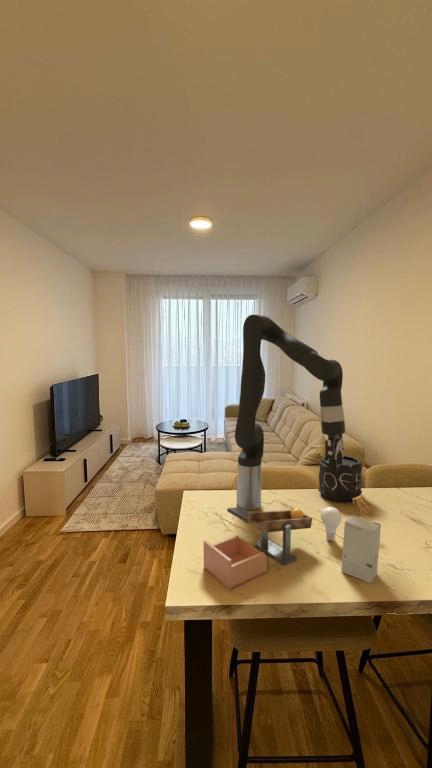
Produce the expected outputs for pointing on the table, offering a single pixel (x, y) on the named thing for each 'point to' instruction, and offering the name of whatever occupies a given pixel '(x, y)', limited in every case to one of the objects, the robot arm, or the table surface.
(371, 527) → the skincare box
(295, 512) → the ball
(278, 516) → the lever trough
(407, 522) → the table surface
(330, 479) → the chalkboard pot
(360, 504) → the figurine
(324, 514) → the lightbulb
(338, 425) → the robot arm
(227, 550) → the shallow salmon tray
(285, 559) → the lever stand
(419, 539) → the table surface
